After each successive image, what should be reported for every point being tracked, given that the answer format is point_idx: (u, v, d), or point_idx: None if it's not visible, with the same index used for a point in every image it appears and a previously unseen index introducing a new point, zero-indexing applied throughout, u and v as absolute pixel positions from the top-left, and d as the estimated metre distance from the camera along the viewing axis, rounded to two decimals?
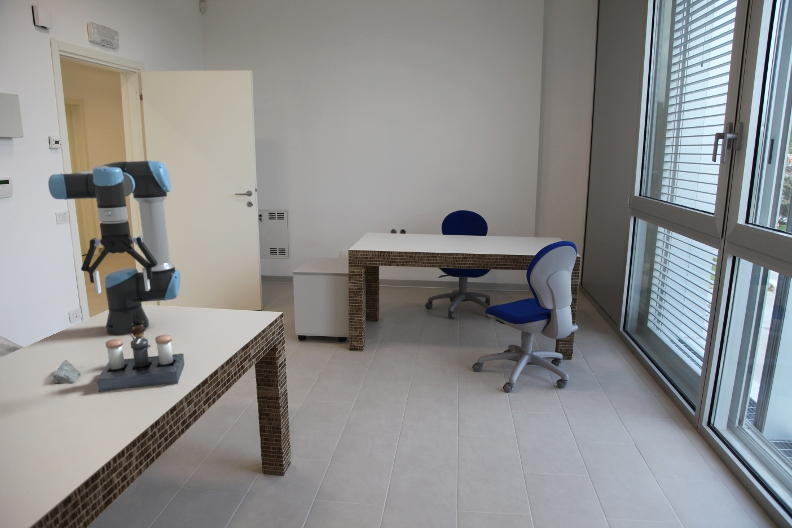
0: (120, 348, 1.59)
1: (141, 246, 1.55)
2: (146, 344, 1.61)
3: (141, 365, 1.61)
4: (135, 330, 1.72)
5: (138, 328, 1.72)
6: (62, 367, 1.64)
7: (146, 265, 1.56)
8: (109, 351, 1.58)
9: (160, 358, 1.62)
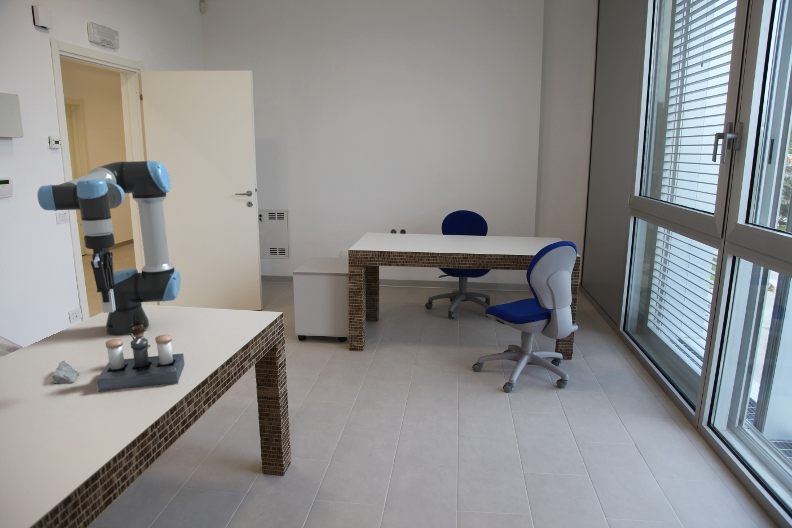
0: (120, 348, 1.59)
1: None
2: (146, 344, 1.61)
3: (141, 365, 1.61)
4: (135, 330, 1.72)
5: (138, 328, 1.72)
6: (60, 368, 1.64)
7: None
8: (109, 351, 1.58)
9: (160, 358, 1.62)
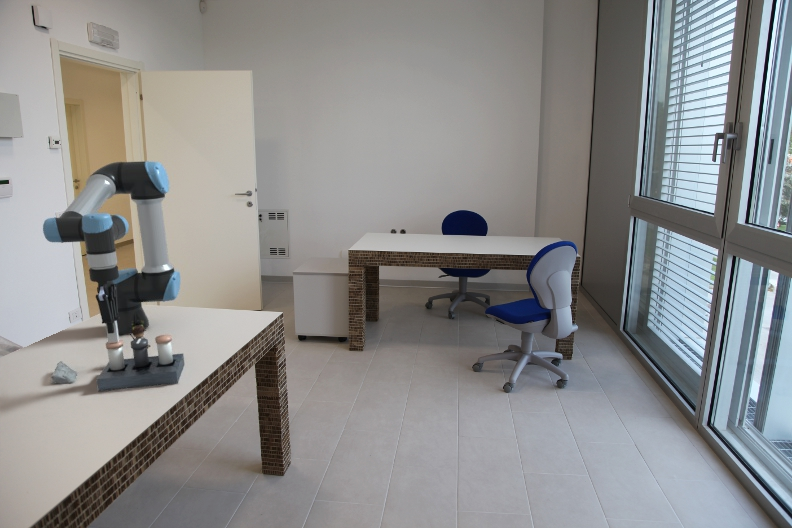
0: (120, 349, 1.60)
1: None
2: (146, 344, 1.61)
3: (141, 365, 1.61)
4: (135, 330, 1.72)
5: (138, 328, 1.72)
6: (59, 368, 1.63)
7: None
8: (109, 352, 1.58)
9: (160, 358, 1.62)
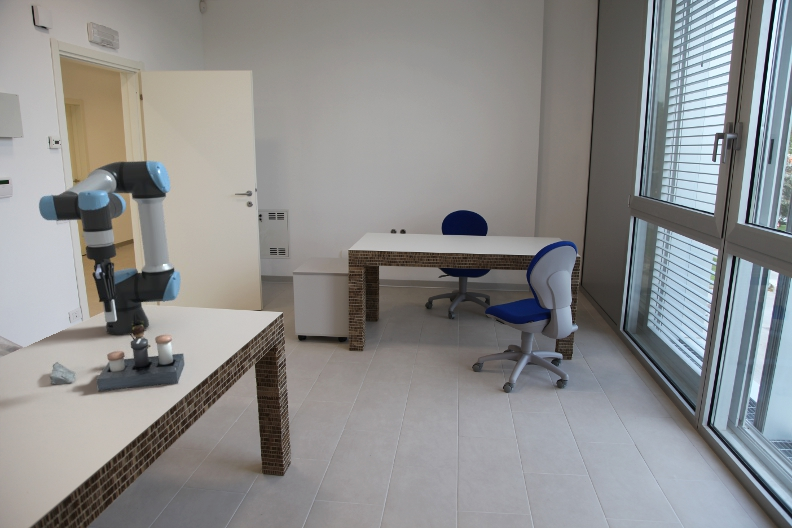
0: (122, 360, 1.60)
1: None
2: (146, 344, 1.61)
3: (141, 365, 1.61)
4: (135, 330, 1.72)
5: (138, 328, 1.72)
6: (56, 369, 1.63)
7: None
8: (111, 363, 1.59)
9: (160, 358, 1.62)
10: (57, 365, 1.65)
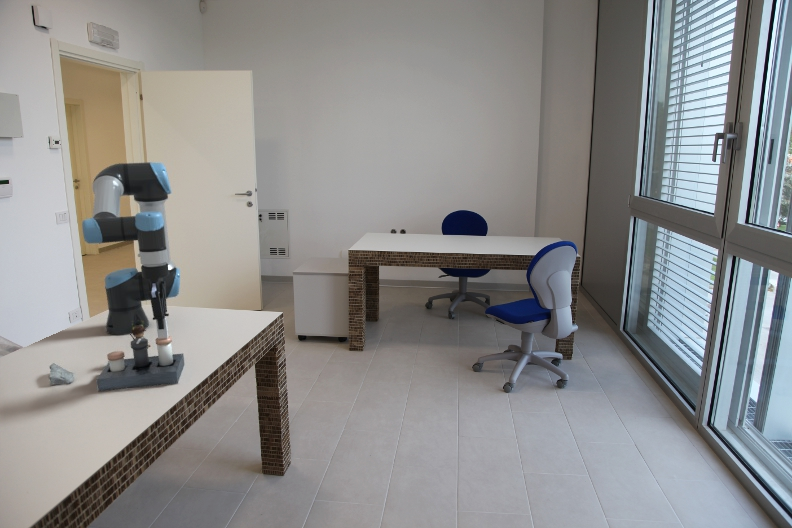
0: (122, 360, 1.60)
1: None
2: (146, 344, 1.61)
3: (141, 365, 1.61)
4: (135, 330, 1.72)
5: (138, 328, 1.72)
6: (54, 369, 1.62)
7: None
8: (111, 363, 1.59)
9: (160, 359, 1.62)
10: (54, 366, 1.65)
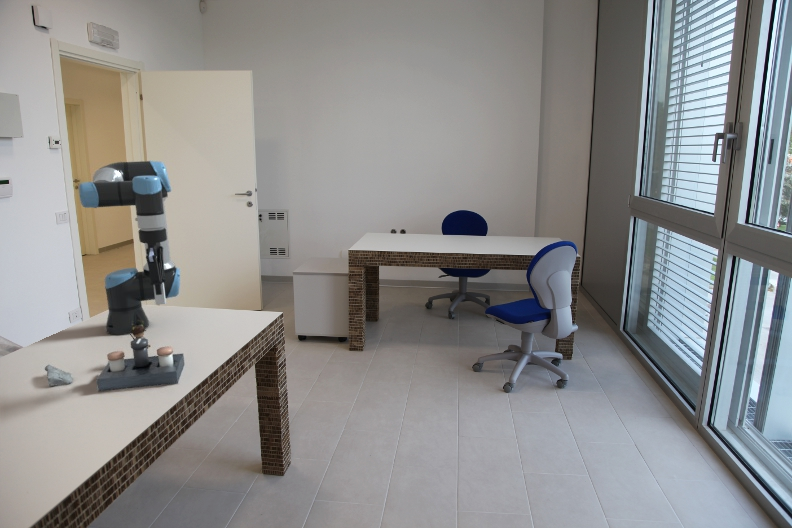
0: (122, 360, 1.60)
1: None
2: (146, 344, 1.61)
3: (141, 365, 1.61)
4: (135, 330, 1.72)
5: (138, 328, 1.72)
6: (51, 371, 1.61)
7: None
8: (111, 363, 1.59)
9: None
10: (50, 367, 1.64)
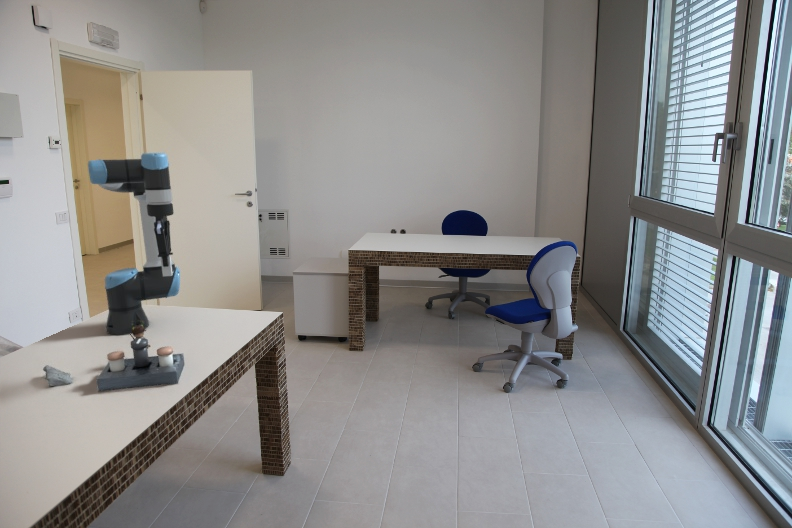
0: (122, 360, 1.60)
1: None
2: (146, 344, 1.61)
3: (141, 365, 1.61)
4: (135, 330, 1.72)
5: (138, 328, 1.72)
6: (51, 371, 1.61)
7: None
8: (111, 363, 1.59)
9: None
10: (49, 368, 1.63)
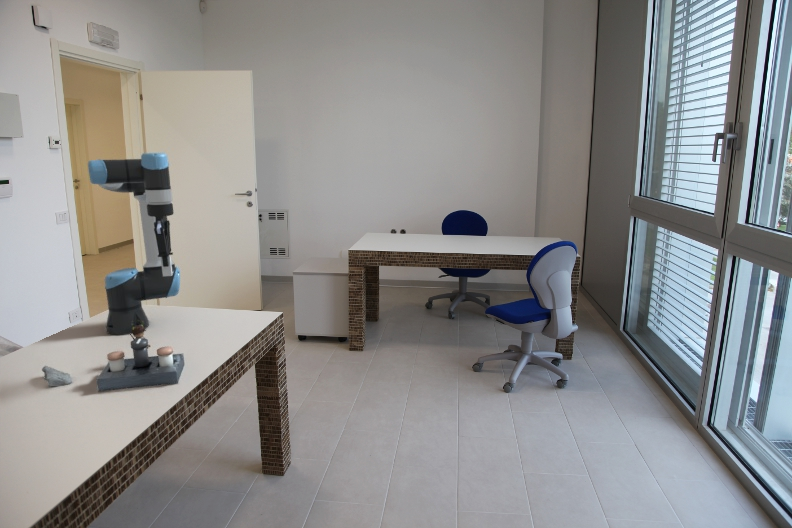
0: (122, 360, 1.60)
1: None
2: (146, 344, 1.61)
3: (141, 365, 1.61)
4: (135, 330, 1.72)
5: (138, 328, 1.72)
6: (50, 371, 1.61)
7: None
8: (111, 363, 1.59)
9: None
10: (48, 368, 1.63)
